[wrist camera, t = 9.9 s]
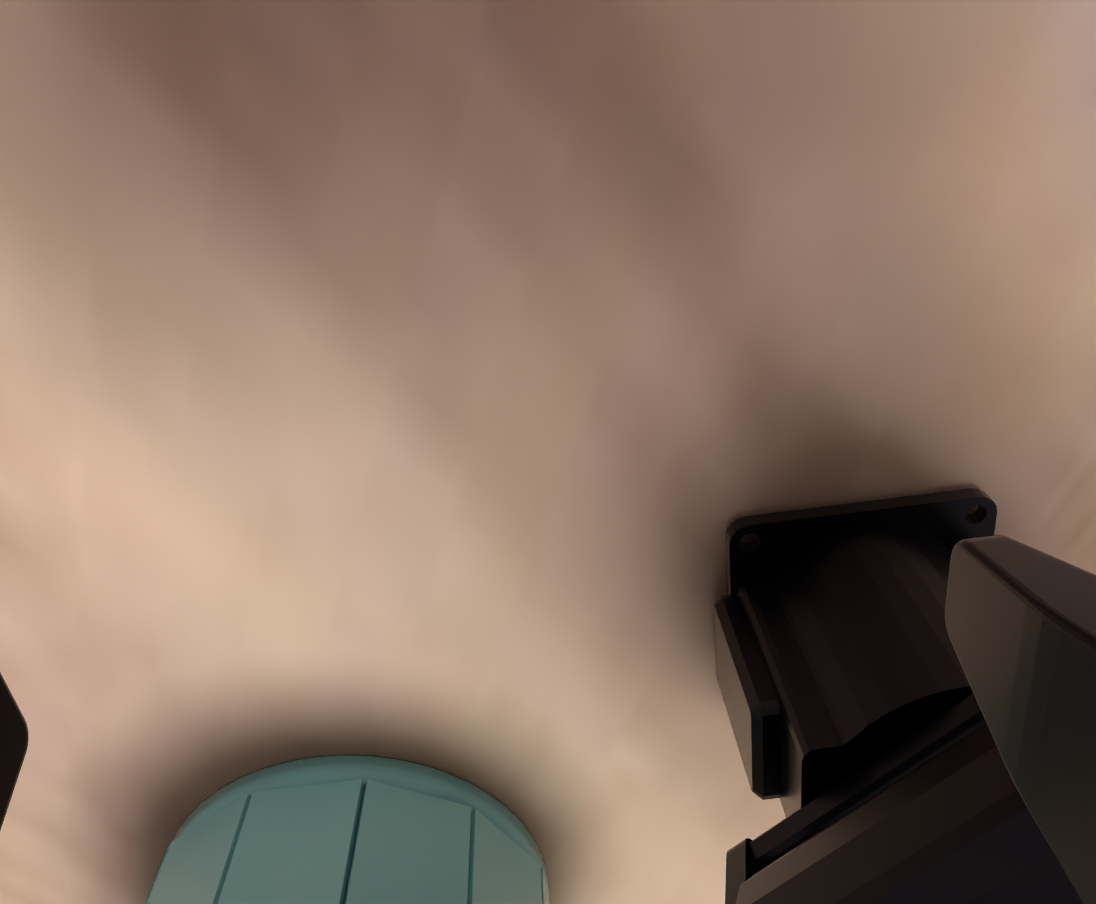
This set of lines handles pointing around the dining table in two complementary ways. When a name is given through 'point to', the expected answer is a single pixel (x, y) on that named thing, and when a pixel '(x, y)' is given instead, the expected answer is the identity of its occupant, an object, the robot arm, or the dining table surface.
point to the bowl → (351, 840)
